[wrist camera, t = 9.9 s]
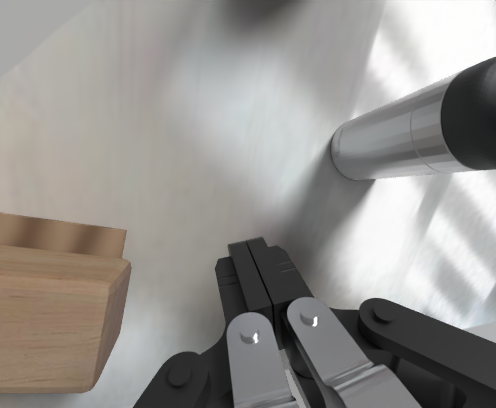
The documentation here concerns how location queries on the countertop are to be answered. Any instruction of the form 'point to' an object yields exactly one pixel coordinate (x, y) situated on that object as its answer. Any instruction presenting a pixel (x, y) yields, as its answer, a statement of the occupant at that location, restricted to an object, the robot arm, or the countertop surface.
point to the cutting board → (61, 236)
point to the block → (58, 318)
